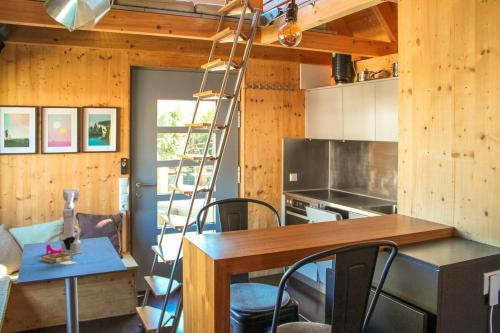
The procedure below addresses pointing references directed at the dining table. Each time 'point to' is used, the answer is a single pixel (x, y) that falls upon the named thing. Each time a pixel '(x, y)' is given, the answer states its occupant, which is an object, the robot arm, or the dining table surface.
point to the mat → (67, 262)
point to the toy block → (51, 250)
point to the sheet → (72, 248)
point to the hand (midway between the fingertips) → (69, 249)
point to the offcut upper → (63, 254)
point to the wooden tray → (55, 258)
